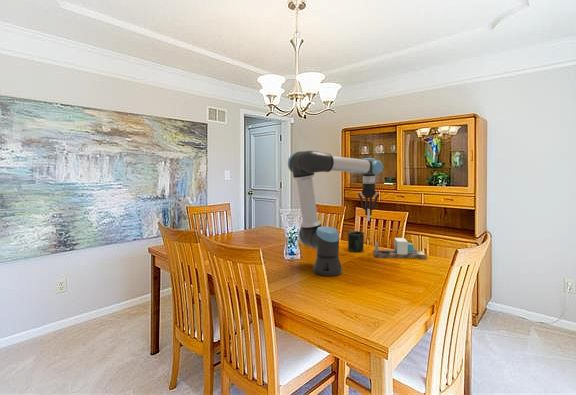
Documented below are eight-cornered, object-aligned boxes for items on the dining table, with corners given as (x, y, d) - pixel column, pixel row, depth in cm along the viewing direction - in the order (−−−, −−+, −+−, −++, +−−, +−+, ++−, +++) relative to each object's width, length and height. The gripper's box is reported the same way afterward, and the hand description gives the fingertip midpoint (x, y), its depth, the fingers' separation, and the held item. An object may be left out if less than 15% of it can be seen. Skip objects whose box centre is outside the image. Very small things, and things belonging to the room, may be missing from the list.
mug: (344, 251, 215) (345, 233, 214) (352, 246, 227) (353, 229, 226) (360, 253, 209) (361, 235, 208) (367, 248, 221) (368, 231, 220)
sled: (376, 252, 200) (376, 244, 199) (374, 249, 207) (375, 242, 207) (417, 253, 196) (417, 245, 196) (414, 250, 204) (414, 243, 203)
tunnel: (397, 254, 197) (397, 241, 196) (394, 250, 207) (394, 237, 206) (407, 254, 196) (407, 241, 195) (403, 250, 206) (404, 238, 205)
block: (403, 251, 199) (403, 244, 198) (401, 249, 203) (401, 242, 203) (413, 251, 198) (413, 244, 198) (411, 250, 202) (411, 242, 202)
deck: (375, 257, 198) (375, 253, 198) (373, 253, 209) (373, 249, 209) (426, 259, 194) (426, 255, 194) (421, 254, 205) (421, 250, 205)
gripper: (358, 183, 198) (358, 221, 200) (380, 183, 196) (379, 221, 198) (357, 182, 205) (357, 219, 207) (378, 182, 203) (378, 219, 205)
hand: (368, 220), depth 202 cm, fingers closed
